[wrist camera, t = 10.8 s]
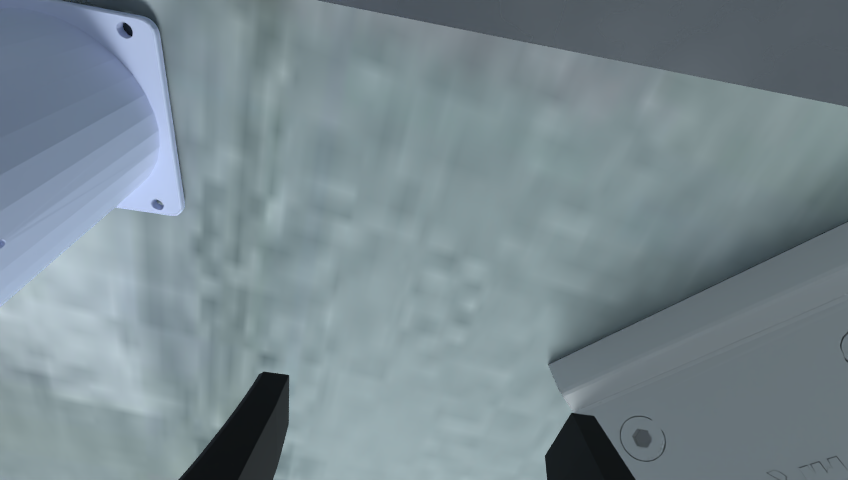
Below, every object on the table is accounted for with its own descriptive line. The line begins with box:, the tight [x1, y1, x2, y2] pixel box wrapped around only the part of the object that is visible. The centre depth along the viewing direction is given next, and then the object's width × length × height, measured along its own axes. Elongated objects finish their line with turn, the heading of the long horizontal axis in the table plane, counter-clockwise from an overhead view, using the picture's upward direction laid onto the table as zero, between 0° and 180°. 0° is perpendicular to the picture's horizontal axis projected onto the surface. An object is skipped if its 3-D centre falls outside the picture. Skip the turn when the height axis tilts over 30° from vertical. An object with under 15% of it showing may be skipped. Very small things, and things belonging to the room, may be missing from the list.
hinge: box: [549, 222, 848, 480], centre depth 21 cm, size 17×5×10 cm, turn 129°
